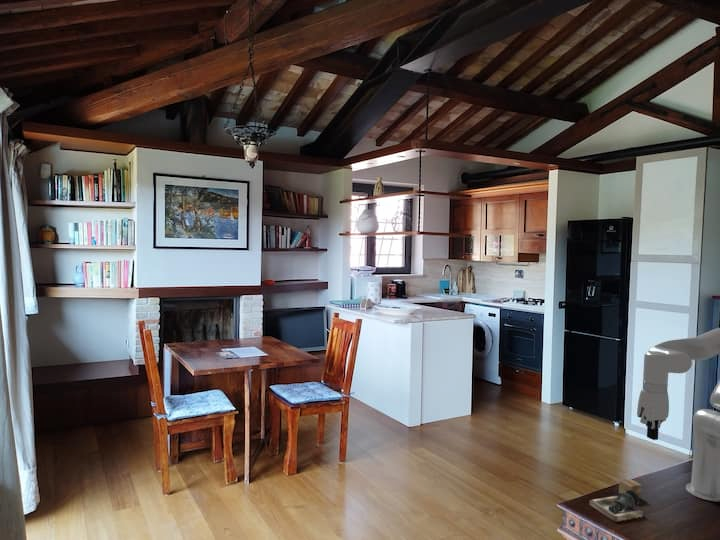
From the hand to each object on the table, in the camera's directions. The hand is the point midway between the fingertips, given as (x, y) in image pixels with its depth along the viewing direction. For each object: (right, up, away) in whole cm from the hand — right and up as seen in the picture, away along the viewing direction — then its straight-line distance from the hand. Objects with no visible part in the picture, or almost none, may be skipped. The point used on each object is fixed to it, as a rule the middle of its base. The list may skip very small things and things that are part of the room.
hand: (652, 438), depth 184 cm
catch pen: (-14, -24, -3) cm, 28 cm away
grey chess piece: (-8, -20, -2) cm, 21 cm away
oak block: (-4, -24, +8) cm, 25 cm away
